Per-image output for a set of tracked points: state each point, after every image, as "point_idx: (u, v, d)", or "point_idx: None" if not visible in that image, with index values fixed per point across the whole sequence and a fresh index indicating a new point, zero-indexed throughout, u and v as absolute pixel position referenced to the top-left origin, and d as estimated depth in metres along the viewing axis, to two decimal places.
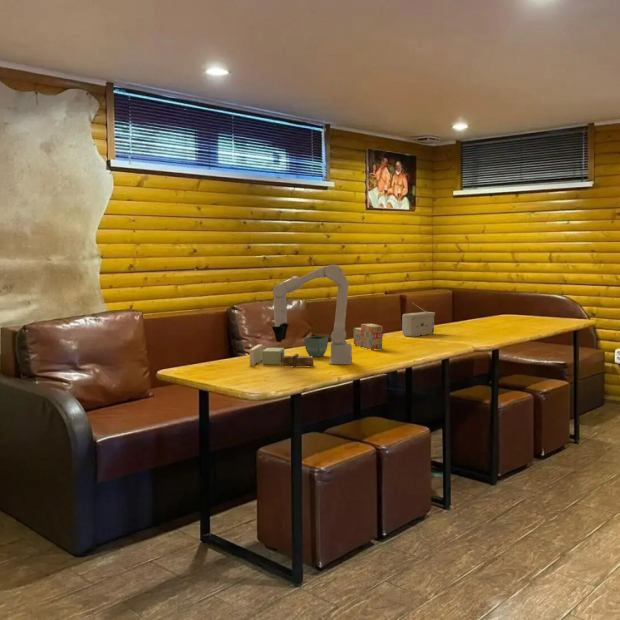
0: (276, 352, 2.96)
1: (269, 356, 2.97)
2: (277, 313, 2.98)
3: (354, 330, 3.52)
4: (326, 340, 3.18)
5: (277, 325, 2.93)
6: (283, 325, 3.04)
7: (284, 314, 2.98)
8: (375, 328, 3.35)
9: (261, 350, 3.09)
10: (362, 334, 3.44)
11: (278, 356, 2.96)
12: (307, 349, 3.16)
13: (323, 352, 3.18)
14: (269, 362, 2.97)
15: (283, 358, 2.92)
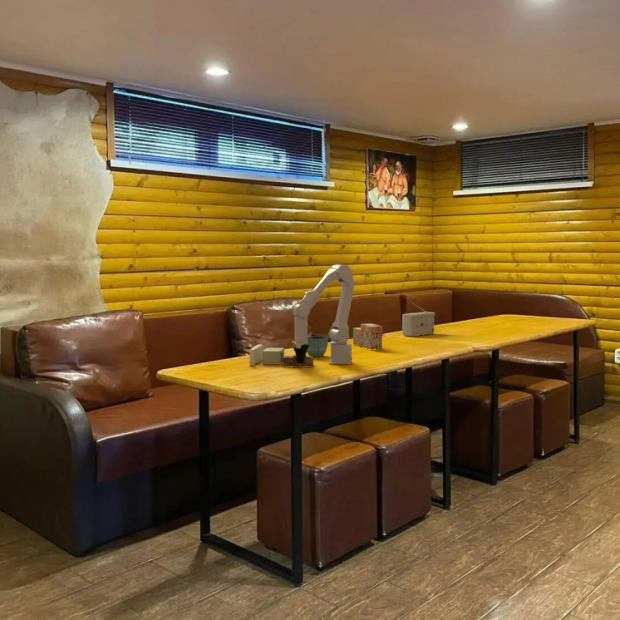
0: (276, 352, 2.96)
1: (269, 356, 2.97)
2: (297, 334, 2.89)
3: (354, 330, 3.53)
4: (326, 340, 3.18)
5: (298, 347, 2.85)
6: (303, 346, 2.94)
7: (305, 335, 2.89)
8: (375, 328, 3.35)
9: (261, 350, 3.09)
10: (362, 334, 3.44)
11: (278, 356, 2.96)
12: None
13: (323, 352, 3.18)
14: (269, 362, 2.97)
15: (283, 358, 2.92)
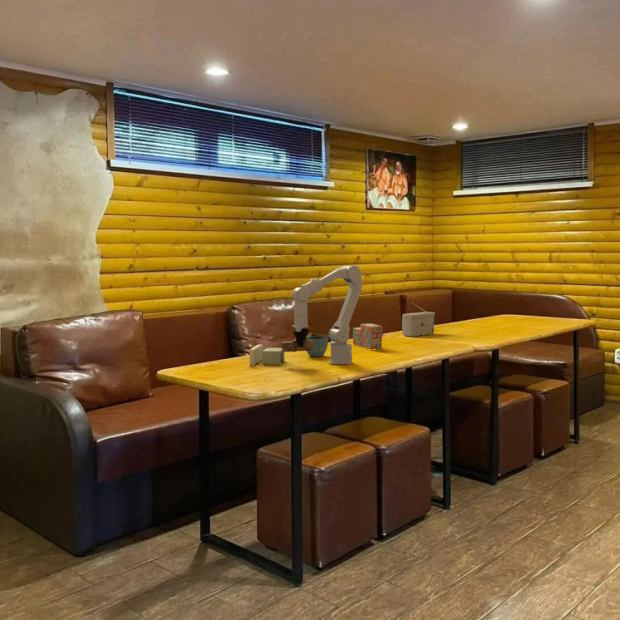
0: (276, 352, 2.96)
1: (269, 356, 2.97)
2: (297, 318, 2.88)
3: (353, 330, 3.53)
4: (326, 340, 3.18)
5: (298, 330, 2.84)
6: (303, 330, 2.93)
7: (305, 319, 2.89)
8: (375, 328, 3.35)
9: (261, 350, 3.09)
10: (362, 334, 3.44)
11: (278, 356, 2.96)
12: None
13: (323, 352, 3.18)
14: (269, 362, 2.97)
15: (282, 343, 2.91)
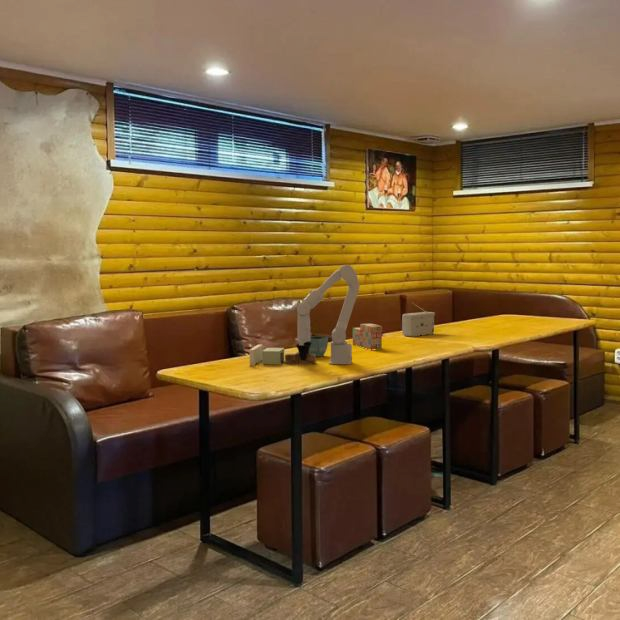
0: (276, 352, 2.96)
1: (269, 356, 2.97)
2: (300, 332, 2.96)
3: (353, 330, 3.53)
4: (326, 340, 3.18)
5: (301, 344, 2.92)
6: (306, 344, 3.01)
7: (308, 333, 2.96)
8: (374, 328, 3.35)
9: (261, 350, 3.09)
10: (361, 334, 3.44)
11: (278, 356, 2.96)
12: None
13: (323, 352, 3.18)
14: (269, 362, 2.97)
15: (286, 355, 2.99)
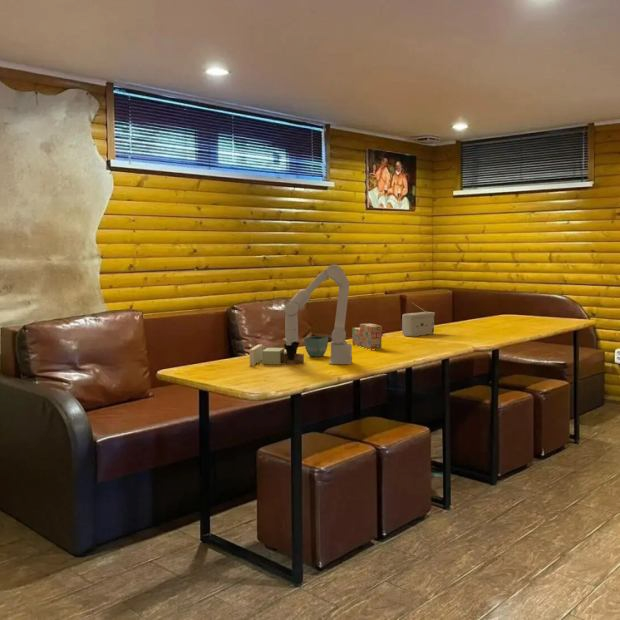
0: (276, 352, 2.96)
1: (269, 356, 2.97)
2: (288, 332, 2.97)
3: (353, 330, 3.53)
4: (326, 340, 3.18)
5: (289, 344, 2.92)
6: (293, 344, 3.02)
7: (295, 332, 2.97)
8: (374, 328, 3.35)
9: (261, 350, 3.09)
10: (361, 334, 3.44)
11: (278, 356, 2.96)
12: (307, 349, 3.16)
13: (323, 352, 3.18)
14: (269, 362, 2.97)
15: None
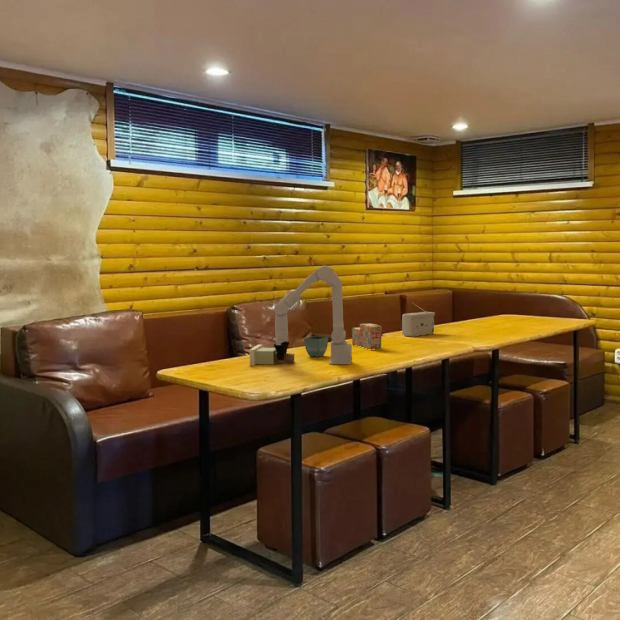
0: (269, 352, 2.97)
1: (262, 356, 2.97)
2: (278, 331, 2.97)
3: (353, 330, 3.53)
4: (326, 340, 3.18)
5: (278, 344, 2.93)
6: (283, 343, 3.02)
7: (285, 332, 2.98)
8: (374, 328, 3.35)
9: None
10: (361, 334, 3.44)
11: (271, 356, 2.97)
12: (307, 349, 3.16)
13: (323, 352, 3.18)
14: (262, 362, 2.97)
15: None
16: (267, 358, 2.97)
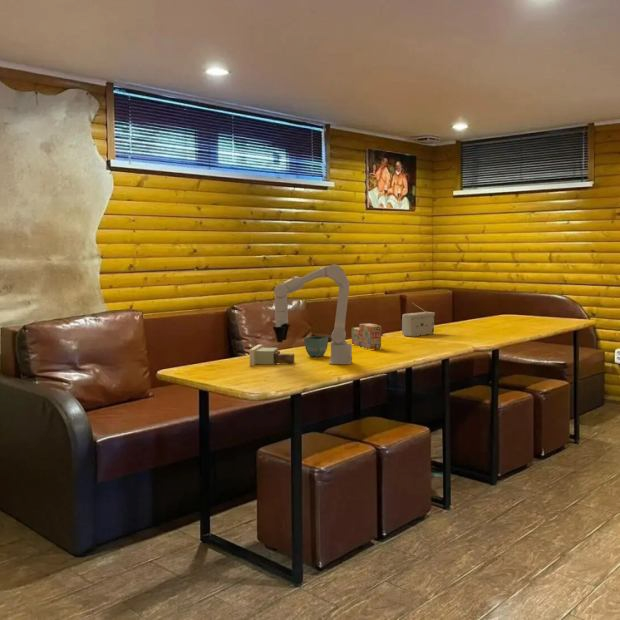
0: (269, 352, 2.97)
1: (262, 356, 2.97)
2: (278, 313, 2.97)
3: (352, 330, 3.53)
4: (326, 340, 3.18)
5: (278, 325, 2.92)
6: (284, 325, 3.03)
7: (285, 314, 2.97)
8: (374, 328, 3.36)
9: None
10: (360, 334, 3.45)
11: (271, 356, 2.97)
12: (307, 349, 3.16)
13: (323, 352, 3.18)
14: (262, 362, 2.97)
15: None
16: (267, 358, 2.97)
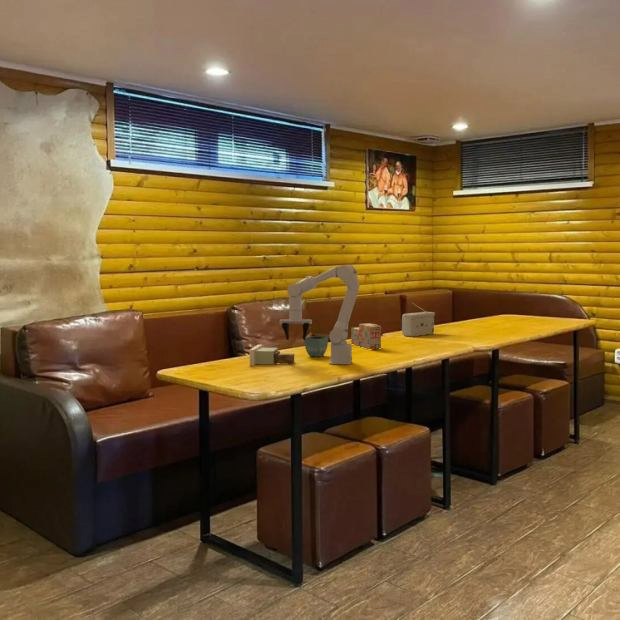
0: (269, 352, 2.97)
1: (262, 356, 2.97)
2: None
3: (352, 330, 3.53)
4: (326, 340, 3.18)
5: None
6: None
7: (291, 313, 3.01)
8: (374, 328, 3.36)
9: None
10: (360, 334, 3.45)
11: (271, 356, 2.97)
12: (307, 349, 3.16)
13: (323, 352, 3.18)
14: (262, 362, 2.97)
15: None
16: (267, 358, 2.97)
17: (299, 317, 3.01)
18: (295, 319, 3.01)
